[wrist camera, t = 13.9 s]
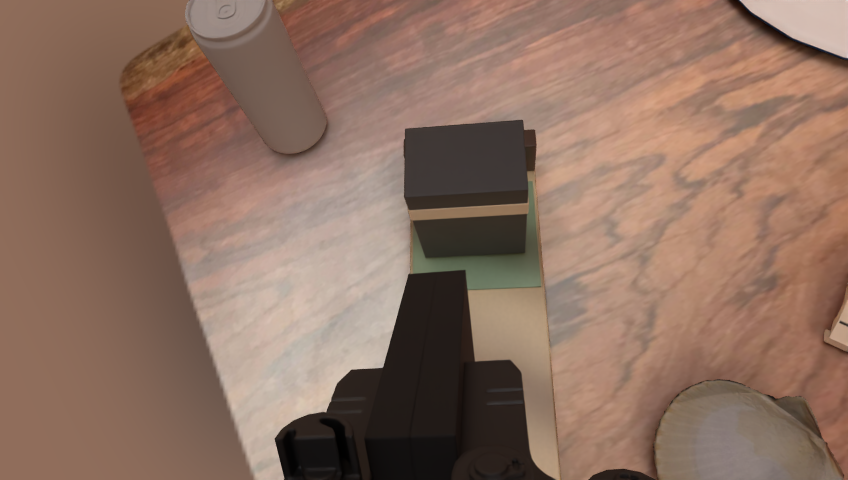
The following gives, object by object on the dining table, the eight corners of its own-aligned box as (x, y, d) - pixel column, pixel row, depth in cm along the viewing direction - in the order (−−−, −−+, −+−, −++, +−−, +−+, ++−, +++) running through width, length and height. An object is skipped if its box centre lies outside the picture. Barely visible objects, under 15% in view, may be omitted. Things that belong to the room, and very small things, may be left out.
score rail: (580, 723, 28) (590, 755, 25) (409, 716, 29) (395, 745, 26) (533, 162, 40) (535, 128, 37) (413, 171, 41) (403, 138, 38)
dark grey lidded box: (526, 253, 36) (529, 190, 29) (424, 258, 37) (403, 198, 30) (521, 192, 38) (524, 118, 31) (424, 198, 39) (403, 127, 31)
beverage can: (264, 163, 43) (181, 47, 32) (263, 108, 45) (183, -19, 34) (331, 151, 43) (269, 29, 32) (326, 95, 45) (266, -37, 34)
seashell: (636, 414, 35) (683, 570, 30) (633, 394, 33) (683, 560, 28) (790, 384, 33) (867, 545, 28) (798, 361, 31) (883, 532, 26)
